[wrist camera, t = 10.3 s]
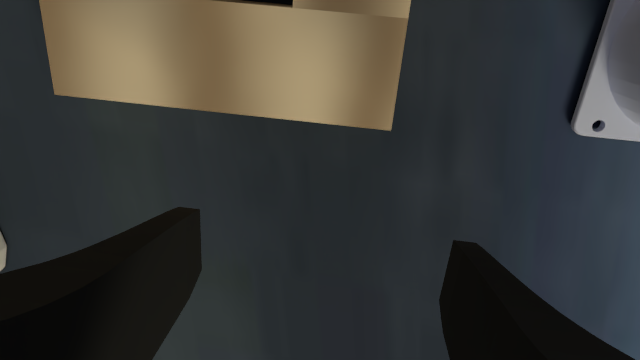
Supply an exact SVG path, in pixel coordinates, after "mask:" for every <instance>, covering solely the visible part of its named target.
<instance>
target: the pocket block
mask: <svg viewBox="0 0 640 360" xmlns="http://www.w3.org/2000/svg"><path fill="white" fill-rule="evenodd" d="M39 2H40V8H41V14H42V20H43V27H44V33H45V39H46V45H47V51H48V57H49V63H50V69H51V75H52V82H53V88H54V94H55V95H63V96H73V97H82V98H91V99H101V100H110V101H119V102H129V103H138V104H147V105H157V106H166V107H175V108H185V109H194V110H203V111H213V112H222V113H231V114H241V115H250V116H259V117H269V118H278V119H287V120H296V121H306V122H315V123H324V124H334V125H343V126H352V127H362V128H371V129H380V130H390V131H391V127H392V121H393V114H394V107H395V101H396V94H397V88H398V81H399V75H400V68H401V62H402V55H403V49H404V42H405V36H406V29H407V23H408V16H409V9H410V3H411V0H293V5H286V4H275V3H264V2H254V1H243V0H39Z"/></svg>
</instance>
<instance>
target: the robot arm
mask: <svg viewBox="0 0 640 360" xmlns="http://www.w3.org/2000/svg"><path fill="white" fill-rule="evenodd" d="M597 120H600V121H601V123H600V126H599V127H598V128H596V129H592V125H593V123H594V122H596V121H597ZM571 128H572V130H573V131H574V132H576V133H577V134H579V135H582V136H592V137H601V138H611V139H620V140H630V141H639V142H640V0H610V3H609V6H608V9H607V13H606V16H605V19H604V22H603V25H602V28H601V31H600V34H599V37H598V40H597V43H596V47H595V50H594V53H593V56H592V59H591V62H590V65H589V68H588V71H587V74H586V78H585V81H584V84H583V87H582V90H581V93H580V96H579V99H578V102H577V105H576V108H575V112H574V115H573V118H572V121H571ZM201 270H202V264H201V233H200V209H192V208H184V207H178V208H175V209H172V210H170V211H167V212H165V213H163V214H161V215H159V216H156V217H154V218H152V219H150V220H148V221H146V222H144V223H142V224H139V225H137V226H135V227H133V228H131V229H129V230H127V231H125V232H122V233H120V234H118V235H115V236H113V237H111V238H108V239H106V240H104V241H101V242H99V243H97V244H94V245H92V246H90V247H87V248H84V249H82V250H79V251H76V252H74V253H71V254H68V255H65V256H62V257H59V258H56V259H53V260H50V261H47V262H43V263H40V264H36V265H32V266H29V267H25V268H21V269H17V270H13V271H10V272H6V273H2V274H0V360H152V359H153V357H154V356H155V354H156V352H157V351H158V349H159V347H160V346H161V344H162V343H163V341H164V339H165V338H166V336H167V334H168V333H169V331H170V330H171V328H172V326H173V325H174V323H175V321H176V320H177V318H178V316H179V315H180V313H181V311H182V310H183V308H184V306H185V305H186V303H187V301H188V300H189V298H190V296H191V293H192V291H193V289H194V287H195V284H196V282H197V279H198V277H199V274H200V272H201ZM439 302H440V312H441V321H442V328H443V334H444V338H445V342H446V346H447V350H448V354H449V358H450V360H635V359H633V358H632V357H630V356H628V355H626V354H625V353H623V352H621V351H619V350H618V349H616V348H614V347H612V346H611V345H609V344H607V343H605V342H604V341H602V340H601V339H599V338H597V337H596V336H594V335H592V334H591V333H589V332H588V331H586V330H585V329H583V328H582V327H580V326H579V325H577V324H576V323H574V322H573V321H571V320H570V319H568V318H567V317H565V316H564V315H563V314H561V313H560V312H558V311H557V310H556V309H554V308H553V307H552V306H551V305H549V304H548V303H547V302H545V301H544V300H543V299H542V298H540V297H539V296H538V295H536V294H535V293H534V292H533V291H531V290H530V289H529V288H528V287H527V286H525V285H524V284H523V283H522V282H521V281H520V280H518V279H517V278H516V277H515V276H514V275H513V274H511V273H510V272H509V271H508V270H507V269H506V268H505V267H504V266H502V265H501V264H500V263H499V262H498V261H497V260H496V259H495V258H493V257H492V256H491V255H490V254H489V253H488V252H487V251H485V250H484V249H483V248H482V247H481V246H479V245H478V244H477V243H473V242H464V241H456V240H453V244H452V248H451V253H450V257H449V261H448V265H447V269H446V274H445V278H444V282H443V286H442V290H441V295H440V299H439Z"/></svg>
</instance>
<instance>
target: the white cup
mask: <svg viewBox="0 0 640 360" xmlns="http://www.w3.org/2000/svg"><path fill="white" fill-rule="evenodd" d="M6 251H7V245H6V242H5V240H4V238H3V235H2V233H1V231H0V272H1V271H2V269H3V268H4V267H5V264H6Z"/></svg>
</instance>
